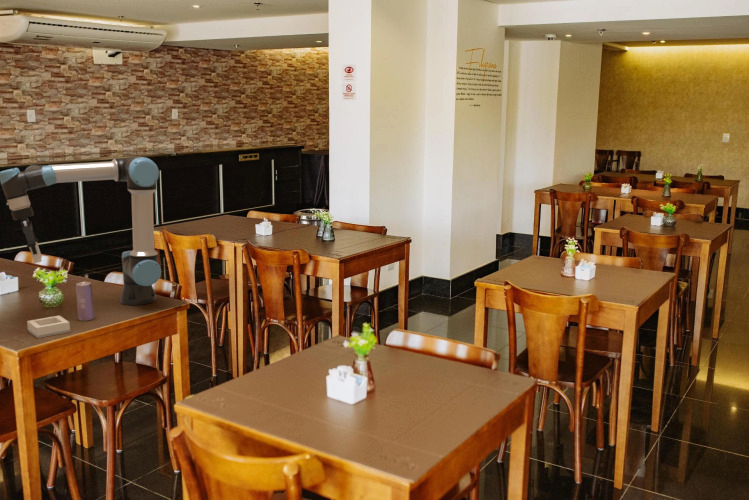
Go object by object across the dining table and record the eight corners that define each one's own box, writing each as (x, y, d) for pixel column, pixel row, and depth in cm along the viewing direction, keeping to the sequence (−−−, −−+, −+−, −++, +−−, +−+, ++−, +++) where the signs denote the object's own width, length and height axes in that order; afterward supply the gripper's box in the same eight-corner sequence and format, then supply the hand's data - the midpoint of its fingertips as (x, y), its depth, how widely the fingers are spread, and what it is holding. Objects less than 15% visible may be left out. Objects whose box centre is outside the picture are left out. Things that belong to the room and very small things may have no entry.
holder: (60, 325, 292) (59, 315, 291) (70, 332, 283) (69, 322, 282) (28, 330, 284) (27, 321, 284) (37, 338, 275) (36, 327, 275)
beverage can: (96, 317, 303) (94, 281, 300) (89, 321, 297) (87, 285, 294) (82, 316, 304) (80, 281, 301) (75, 320, 298) (72, 285, 295)
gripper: (11, 209, 295) (29, 259, 299) (9, 212, 272) (27, 266, 276) (31, 204, 297) (48, 254, 302) (30, 207, 275) (48, 261, 279)
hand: (38, 260), depth 289 cm, fingers open, 13 cm apart
